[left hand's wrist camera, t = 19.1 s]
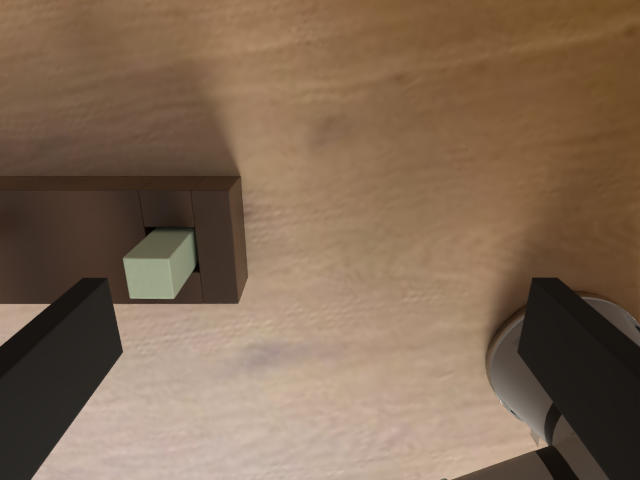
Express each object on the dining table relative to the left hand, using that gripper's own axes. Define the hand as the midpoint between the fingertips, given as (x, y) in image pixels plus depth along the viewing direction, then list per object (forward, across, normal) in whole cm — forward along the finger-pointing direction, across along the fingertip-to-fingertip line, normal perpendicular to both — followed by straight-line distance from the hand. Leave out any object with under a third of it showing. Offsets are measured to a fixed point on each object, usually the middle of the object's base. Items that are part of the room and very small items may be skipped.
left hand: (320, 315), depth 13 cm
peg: (+25, +12, +6) cm, 28 cm away
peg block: (+25, +20, +6) cm, 32 cm away
